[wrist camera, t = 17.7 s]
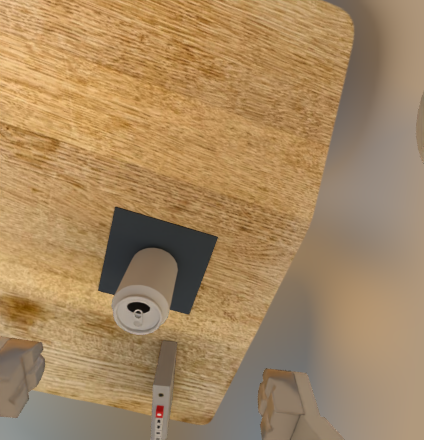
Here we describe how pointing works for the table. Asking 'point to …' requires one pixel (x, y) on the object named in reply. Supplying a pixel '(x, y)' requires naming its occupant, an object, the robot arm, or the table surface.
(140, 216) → the mat
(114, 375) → the table surface
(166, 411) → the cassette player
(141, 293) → the can
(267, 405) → the robot arm
